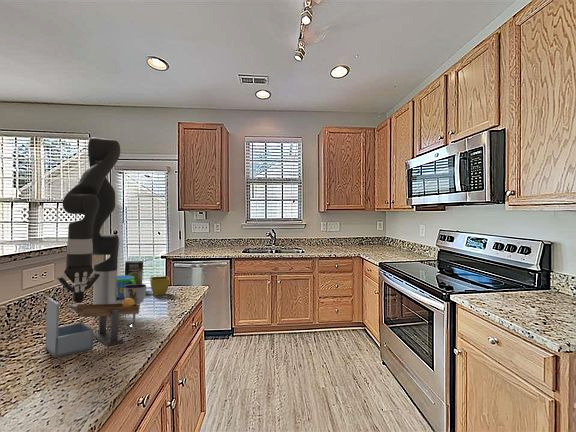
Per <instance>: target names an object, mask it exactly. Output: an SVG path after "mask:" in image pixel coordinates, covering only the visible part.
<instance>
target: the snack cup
mask: <svg viewBox="0 0 576 432" xmlns="http://www.w3.org/2000/svg"><path fill="white" fill-rule="evenodd" d="M129 284H136V282H135V280H134V276H127V275H125V274H124V275H117V297H116V299H125V298H124V286H125V285H129Z"/></svg>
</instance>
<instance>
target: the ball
mask: <svg viewBox="0 0 576 432" xmlns="http://www.w3.org/2000/svg"><path fill="white" fill-rule="evenodd" d="M121 303H122V306H123V307H132V306H134V304H135V302H134V300H133V299H132V298H126V299H125V298H124V299H123V301H122V302H121Z"/></svg>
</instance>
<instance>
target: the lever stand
mask: <svg viewBox="0 0 576 432" xmlns="http://www.w3.org/2000/svg"><path fill="white" fill-rule="evenodd" d="M105 304H106V303H105ZM119 317H120V315H119V310H118V309H117V310H112V311H111V316H110V330H109V329H107V316H98V331H97V332H93V338H95V339H97V341H99V342H100V343H102V344H103V345H104V346H106V347H112V346H116V345H119V344H123V343H124V341H125V340H124V339H123V338H122V337H120V336H119Z"/></svg>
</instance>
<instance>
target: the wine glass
mask: <svg viewBox="0 0 576 432" xmlns="http://www.w3.org/2000/svg"><path fill="white" fill-rule="evenodd" d="M146 295H147V285H146V284H145V283H142V284H129V285H125V286H124V298H123V299H124V300H125V299H126V298H132V299H133V300H134V302H135V303H136V304H138V305H140V306H141V304H142V303H143V302H144V300H145V298H146ZM136 315H137V314H132V321H129V322H126V323H124V324H123V327H125V328H128V329H129V328H130V329H131V328H139V327H141V326H144V324H145V323H144V322H143V321H139V320H138V321H136Z"/></svg>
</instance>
